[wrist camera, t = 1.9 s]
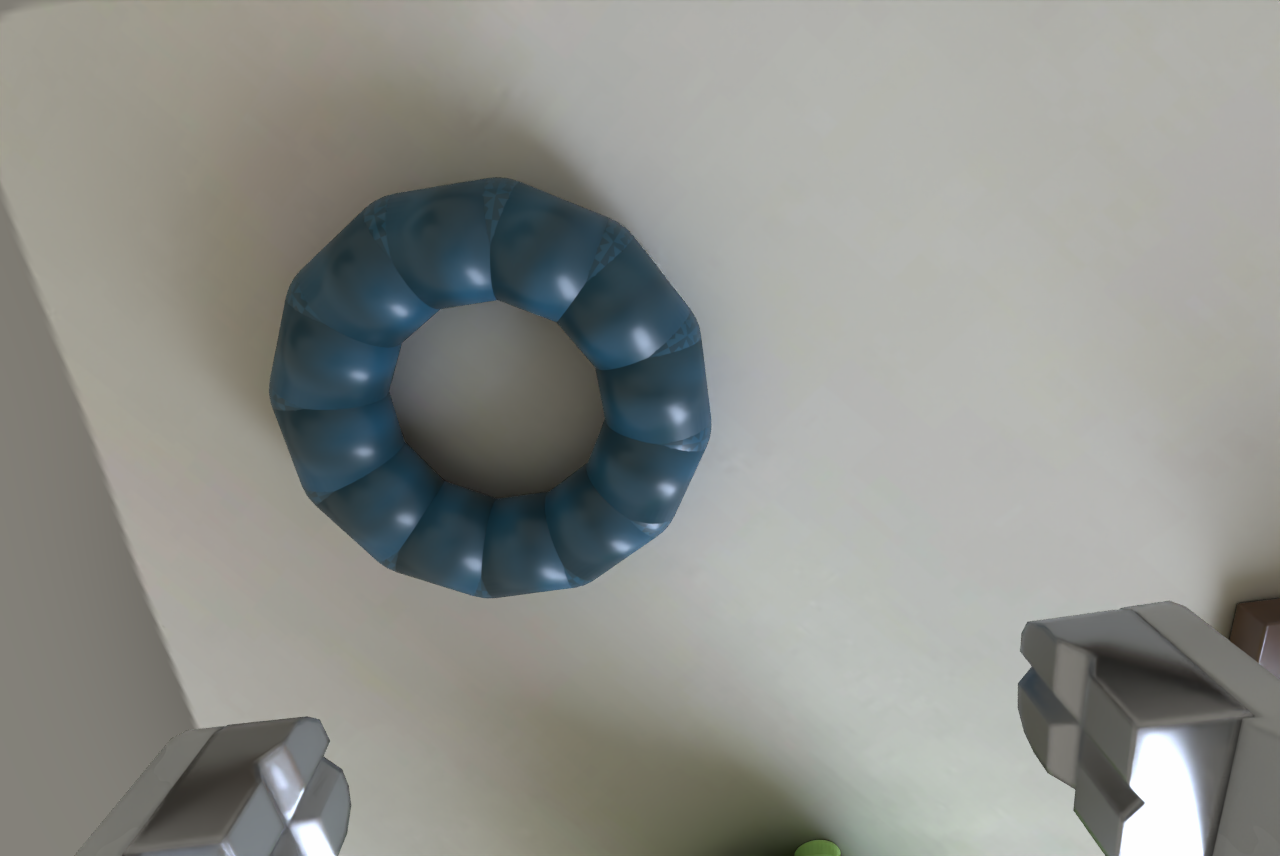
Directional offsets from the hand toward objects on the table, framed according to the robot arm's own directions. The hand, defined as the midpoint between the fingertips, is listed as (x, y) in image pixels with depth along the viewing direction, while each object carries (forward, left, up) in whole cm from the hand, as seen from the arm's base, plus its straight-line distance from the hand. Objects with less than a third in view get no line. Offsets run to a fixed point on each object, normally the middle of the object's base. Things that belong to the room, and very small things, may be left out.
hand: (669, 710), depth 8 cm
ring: (0, -4, -12) cm, 13 cm away
